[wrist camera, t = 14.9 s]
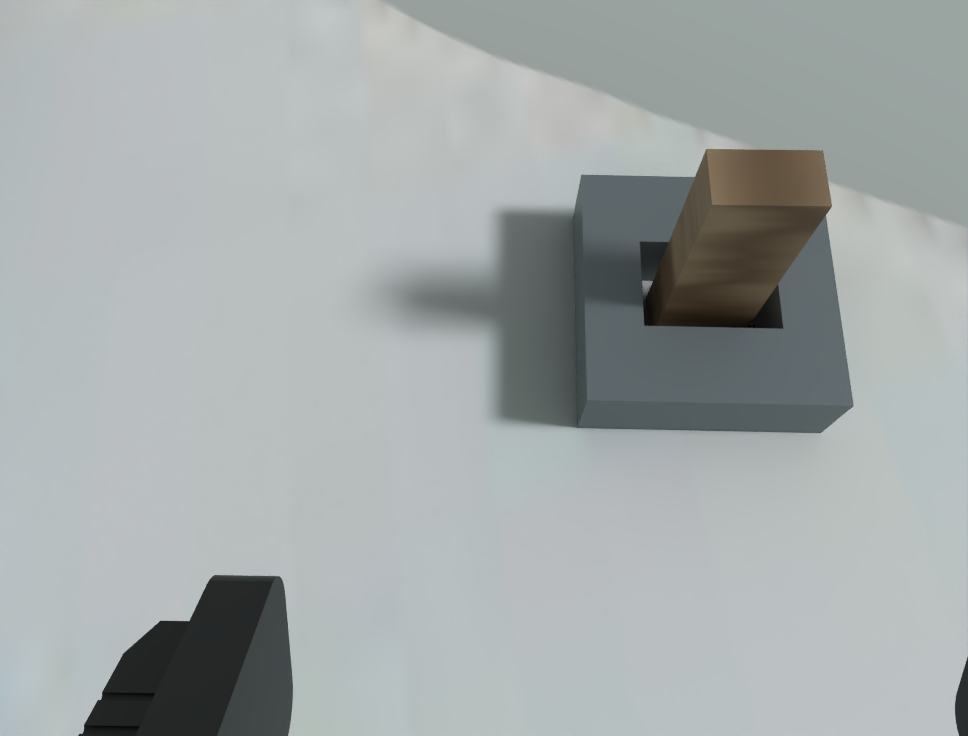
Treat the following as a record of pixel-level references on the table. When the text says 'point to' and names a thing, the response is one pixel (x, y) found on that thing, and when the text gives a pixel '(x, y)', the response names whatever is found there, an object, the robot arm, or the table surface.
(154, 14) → the table surface
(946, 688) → the table surface
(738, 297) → the slat
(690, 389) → the grey square socket block
